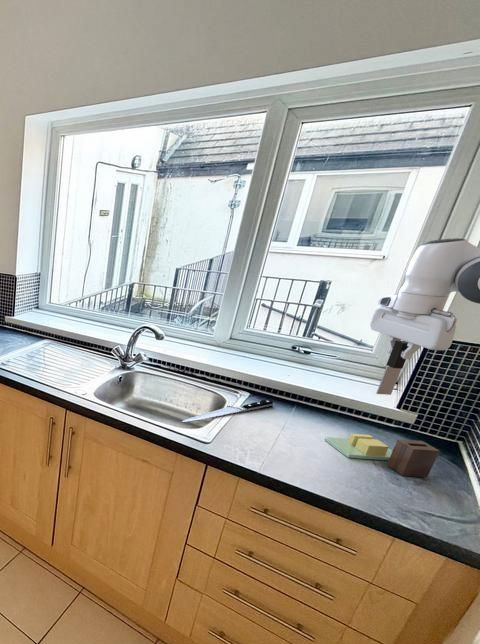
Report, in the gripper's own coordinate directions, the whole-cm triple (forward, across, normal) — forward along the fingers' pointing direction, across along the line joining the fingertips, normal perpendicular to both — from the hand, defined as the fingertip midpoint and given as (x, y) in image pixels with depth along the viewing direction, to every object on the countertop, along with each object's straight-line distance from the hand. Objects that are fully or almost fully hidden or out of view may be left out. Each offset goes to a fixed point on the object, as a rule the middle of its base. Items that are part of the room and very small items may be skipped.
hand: (398, 356), depth 111 cm
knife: (+11, 0, 0) cm, 11 cm away
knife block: (+29, -10, -4) cm, 31 cm away
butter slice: (+28, +1, 0) cm, 28 cm away
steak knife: (+29, +19, +29) cm, 45 cm away
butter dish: (+29, 0, 0) cm, 29 cm away
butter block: (+28, -3, 0) cm, 28 cm away
